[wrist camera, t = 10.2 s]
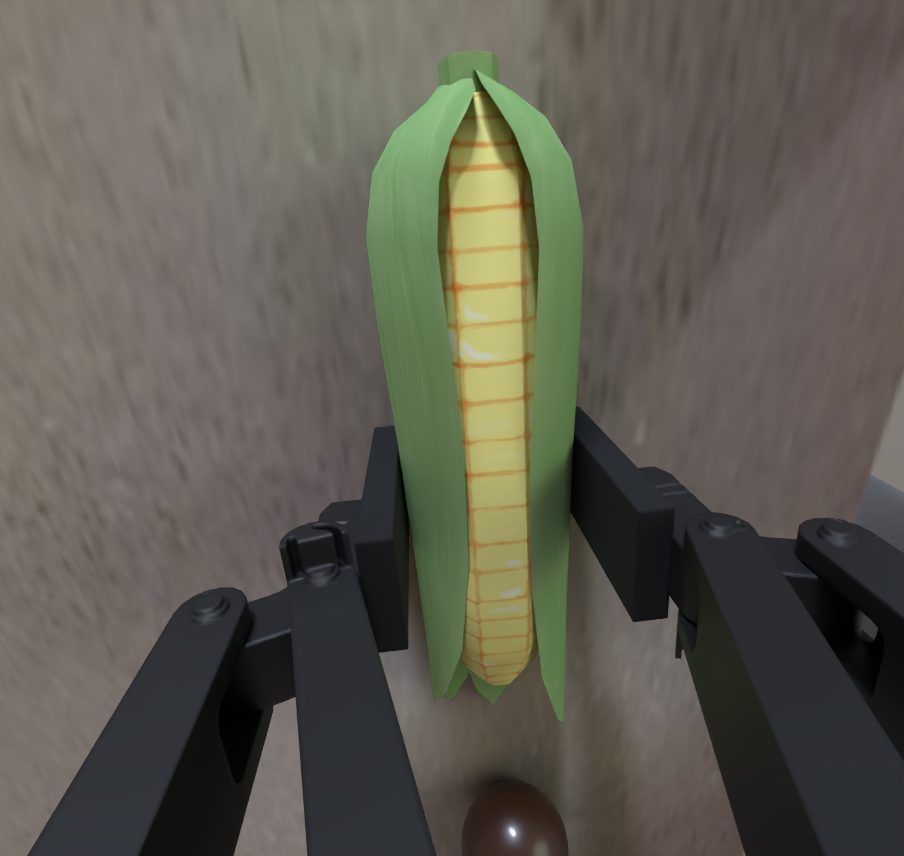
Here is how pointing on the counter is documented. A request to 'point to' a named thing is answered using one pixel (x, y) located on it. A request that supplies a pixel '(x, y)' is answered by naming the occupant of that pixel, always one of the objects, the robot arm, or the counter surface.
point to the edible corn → (482, 369)
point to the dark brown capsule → (513, 823)
